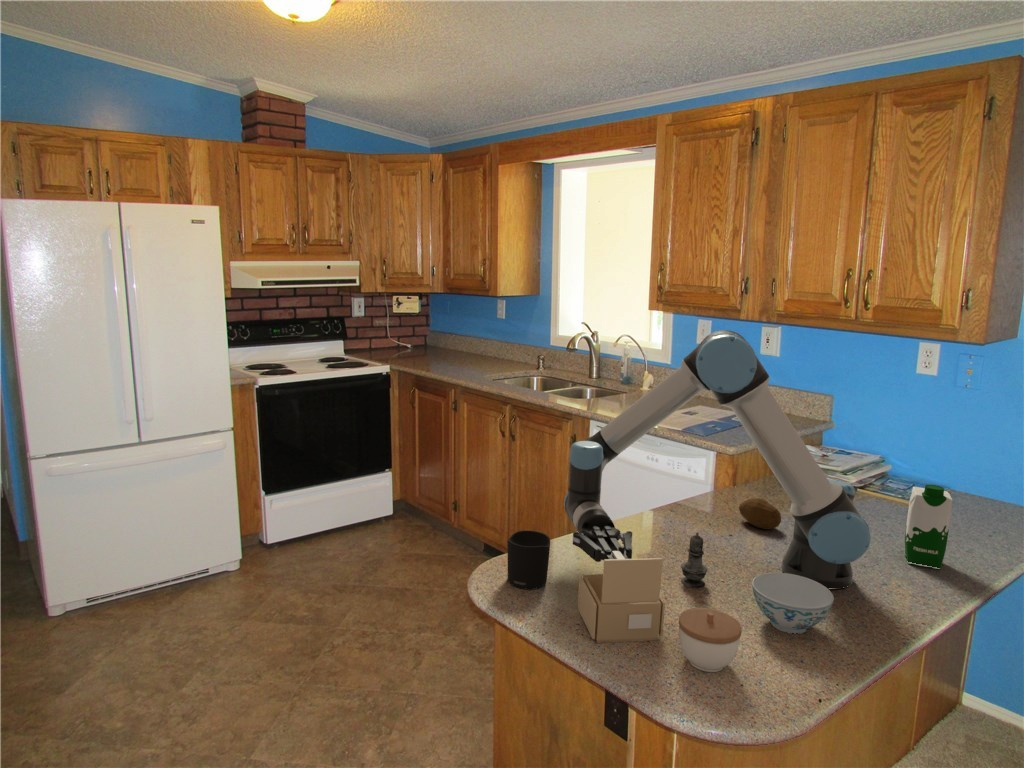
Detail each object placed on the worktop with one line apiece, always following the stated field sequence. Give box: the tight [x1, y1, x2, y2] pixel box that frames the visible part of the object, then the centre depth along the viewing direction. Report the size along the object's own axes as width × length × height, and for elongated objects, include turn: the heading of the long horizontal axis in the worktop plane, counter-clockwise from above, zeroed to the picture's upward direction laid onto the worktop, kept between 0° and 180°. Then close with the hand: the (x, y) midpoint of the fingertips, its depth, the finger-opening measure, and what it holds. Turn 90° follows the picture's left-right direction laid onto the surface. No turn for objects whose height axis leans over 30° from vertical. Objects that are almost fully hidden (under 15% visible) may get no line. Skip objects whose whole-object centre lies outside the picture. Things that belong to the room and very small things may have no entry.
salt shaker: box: [680, 531, 709, 589], centre depth 152 cm, size 6×6×12 cm
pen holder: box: [507, 530, 551, 590], centre depth 150 cm, size 9×9×10 cm
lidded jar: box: [678, 607, 742, 673], centre depth 121 cm, size 11×11×9 cm
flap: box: [601, 557, 664, 603], centre depth 126 cm, size 11×1×8 cm, turn 98°
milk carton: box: [904, 484, 954, 569], centre depth 168 cm, size 9×9×20 cm
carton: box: [577, 573, 666, 644], centre depth 133 cm, size 14×13×8 cm
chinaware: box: [751, 572, 835, 635], centre depth 135 cm, size 15×15×8 cm
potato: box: [738, 498, 782, 530], centre depth 190 cm, size 8×12×8 cm, turn 45°
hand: (625, 572), depth 126 cm, fingers closed
